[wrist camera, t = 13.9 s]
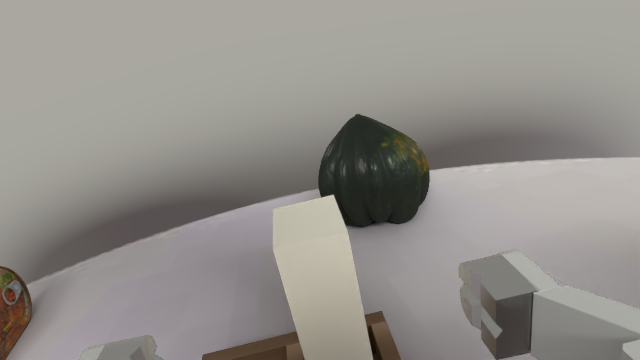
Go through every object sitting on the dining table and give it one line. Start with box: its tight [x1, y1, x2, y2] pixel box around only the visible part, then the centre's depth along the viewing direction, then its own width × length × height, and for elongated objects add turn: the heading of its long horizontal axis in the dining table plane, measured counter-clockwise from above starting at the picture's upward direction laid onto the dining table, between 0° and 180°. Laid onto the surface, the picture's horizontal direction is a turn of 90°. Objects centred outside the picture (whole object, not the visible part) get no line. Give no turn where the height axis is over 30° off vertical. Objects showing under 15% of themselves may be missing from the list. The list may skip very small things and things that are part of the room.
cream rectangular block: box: [273, 195, 373, 360], centre depth 25 cm, size 5×4×15 cm
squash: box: [318, 114, 430, 226], centre depth 52 cm, size 14×15×15 cm
